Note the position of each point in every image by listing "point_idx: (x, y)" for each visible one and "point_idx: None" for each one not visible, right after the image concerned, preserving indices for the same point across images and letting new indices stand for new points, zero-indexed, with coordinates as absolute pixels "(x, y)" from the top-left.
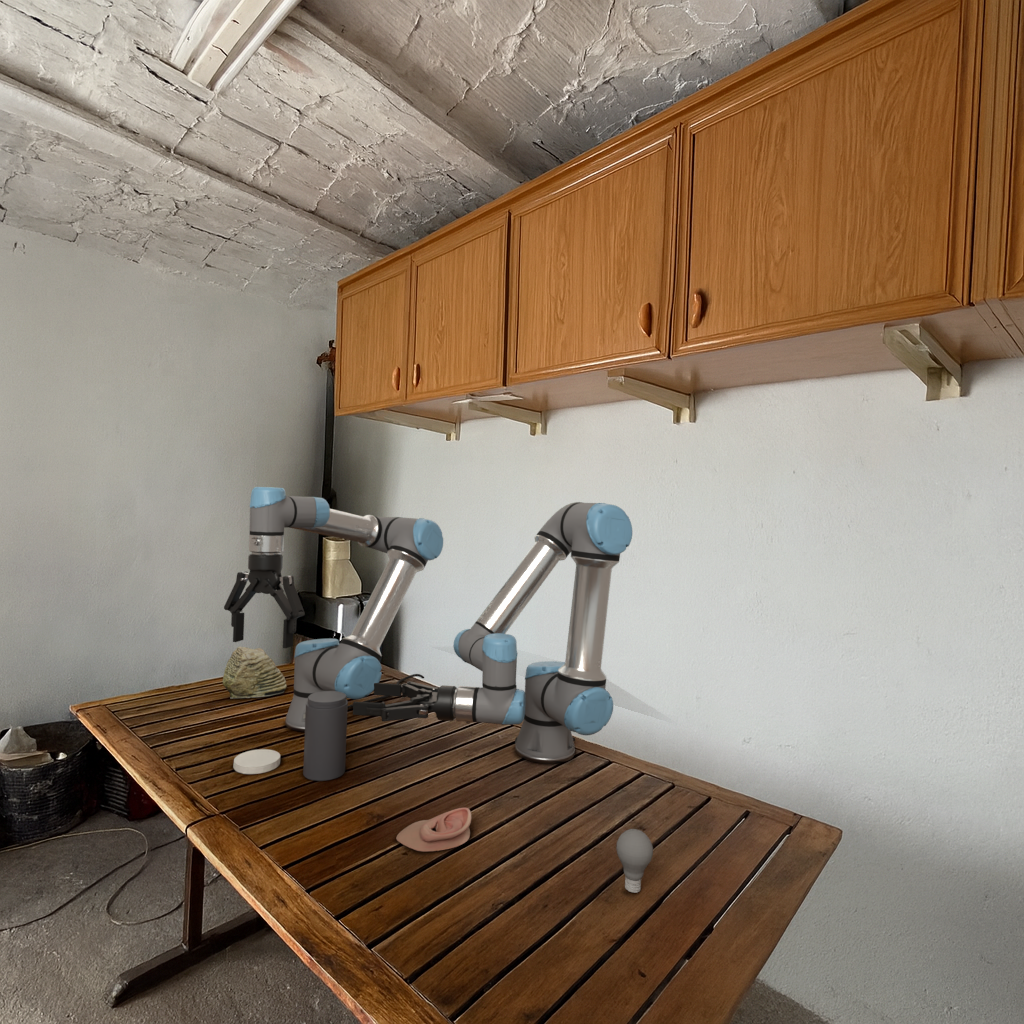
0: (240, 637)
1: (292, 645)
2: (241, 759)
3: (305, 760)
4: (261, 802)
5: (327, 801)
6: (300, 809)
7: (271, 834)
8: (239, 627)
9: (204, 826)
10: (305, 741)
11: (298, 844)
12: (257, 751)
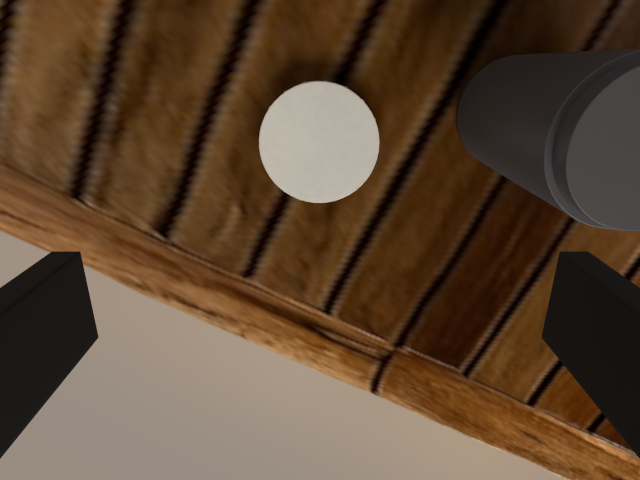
0: (73, 301)
1: (589, 257)
2: (287, 170)
3: (490, 167)
4: (445, 291)
5: (579, 243)
6: (537, 288)
7: (526, 371)
8: (18, 378)
9: (400, 386)
10: (507, 177)
11: None
12: (290, 108)
